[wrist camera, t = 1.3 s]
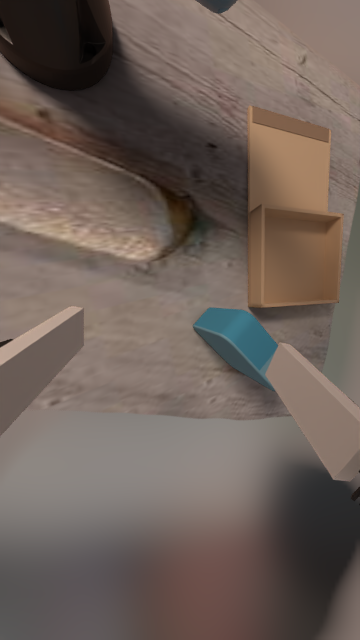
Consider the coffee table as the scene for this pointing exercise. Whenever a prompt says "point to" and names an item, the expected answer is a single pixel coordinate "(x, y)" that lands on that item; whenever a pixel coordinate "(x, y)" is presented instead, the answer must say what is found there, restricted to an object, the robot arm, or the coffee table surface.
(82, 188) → the coffee table surface
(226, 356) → the data package
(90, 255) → the coffee table surface
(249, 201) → the mailer box
